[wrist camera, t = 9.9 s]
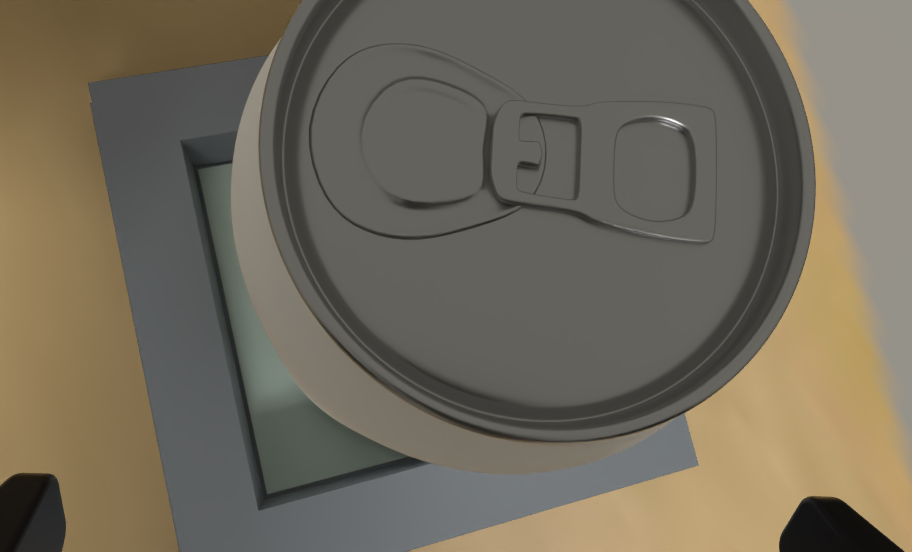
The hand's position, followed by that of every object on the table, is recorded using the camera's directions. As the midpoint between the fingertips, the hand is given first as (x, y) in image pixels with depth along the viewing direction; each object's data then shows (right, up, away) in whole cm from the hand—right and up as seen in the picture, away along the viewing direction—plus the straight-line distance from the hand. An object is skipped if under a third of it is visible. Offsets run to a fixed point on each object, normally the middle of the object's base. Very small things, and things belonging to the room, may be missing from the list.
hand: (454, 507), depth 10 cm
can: (-1, +2, +10) cm, 10 cm away
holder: (-2, +2, +11) cm, 11 cm away
